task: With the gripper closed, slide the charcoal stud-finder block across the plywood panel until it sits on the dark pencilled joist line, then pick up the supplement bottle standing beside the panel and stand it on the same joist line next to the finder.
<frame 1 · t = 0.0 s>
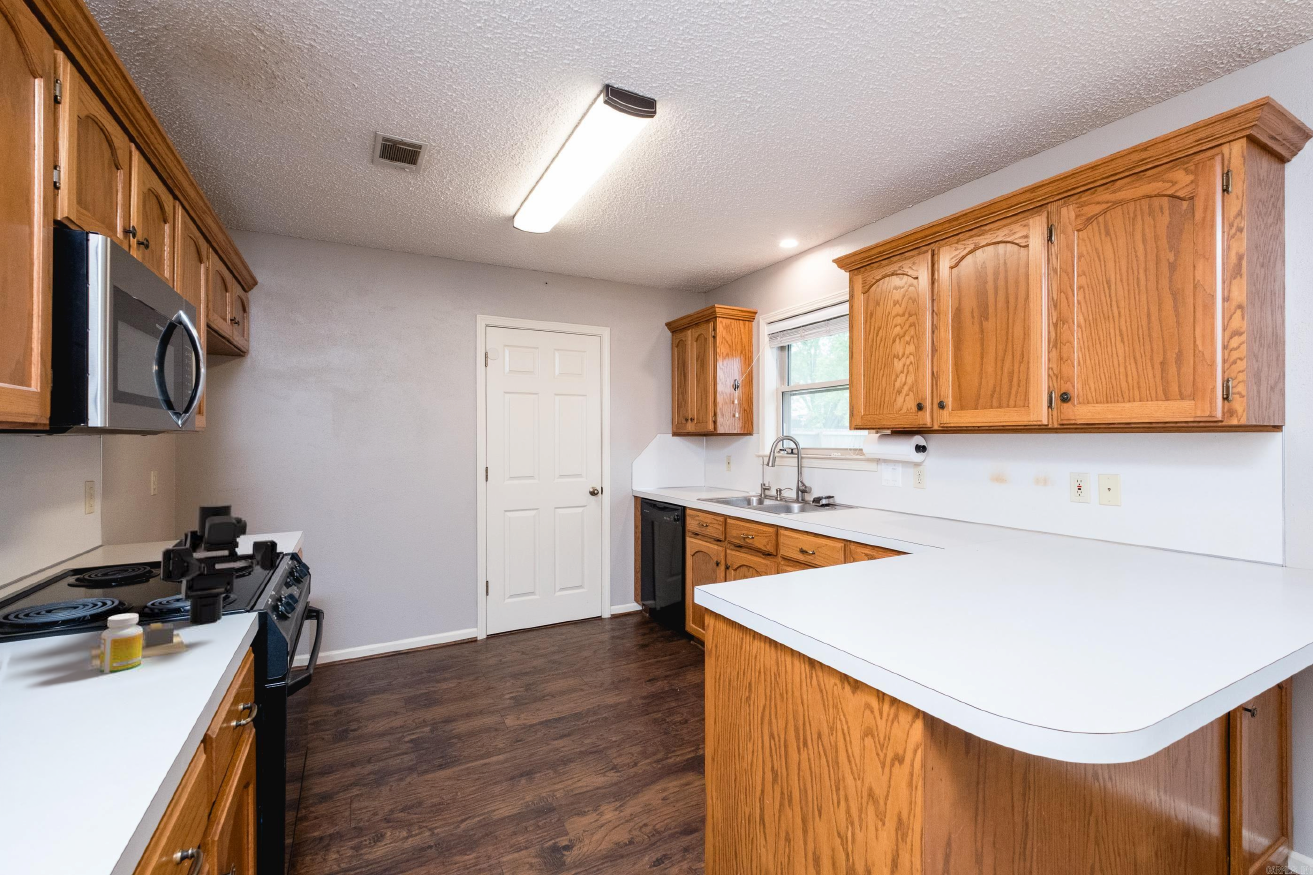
hand: (229, 565, 113), 17 cm above the counter, tool horizontal, fingers open, 9 cm apart
plywood panel: (139, 652, 112), on the counter
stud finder: (158, 642, 115), point 1 cm above the counter, touching plywood panel
supplement bottle: (120, 672, 103), on the counter
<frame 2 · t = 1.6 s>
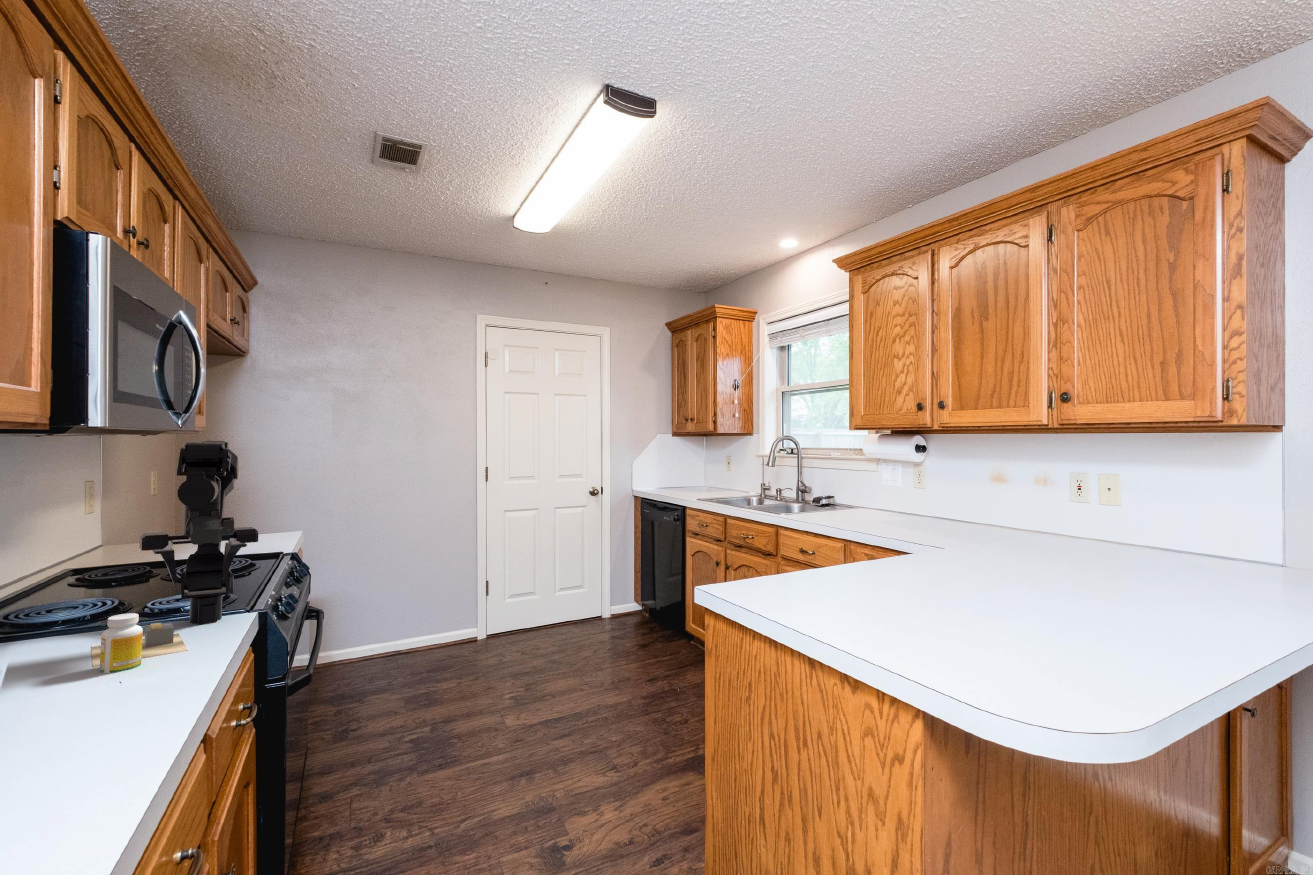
hand: (199, 580, 120), 12 cm above the counter, tool pointing down, fingers open, 8 cm apart
nothing on the counter moved.
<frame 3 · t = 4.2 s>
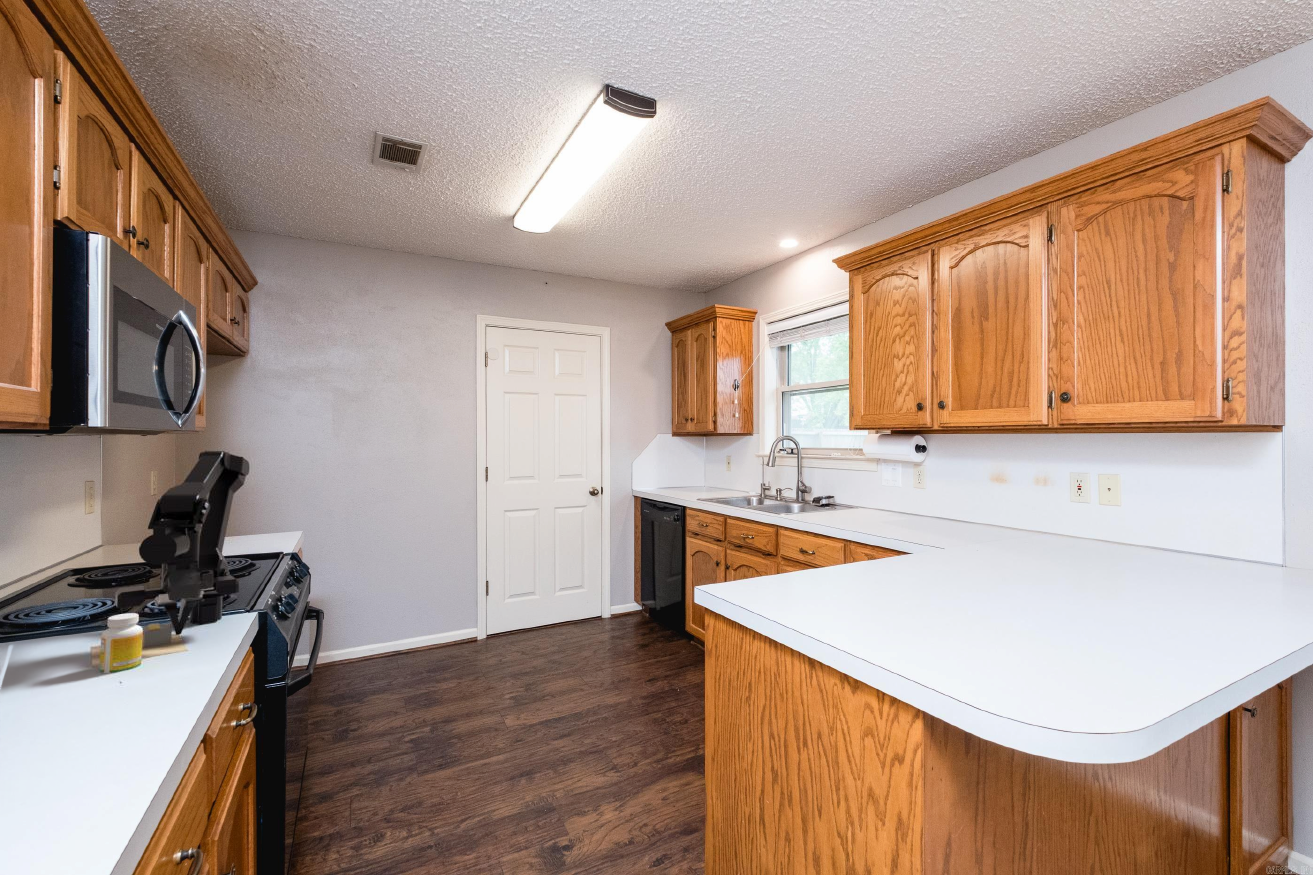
hand: (178, 634, 117), 2 cm above the counter, tool pointing down, fingers closed
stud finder: (156, 642, 115), point 1 cm above the counter, touching gripper, plywood panel
everything else where it was.
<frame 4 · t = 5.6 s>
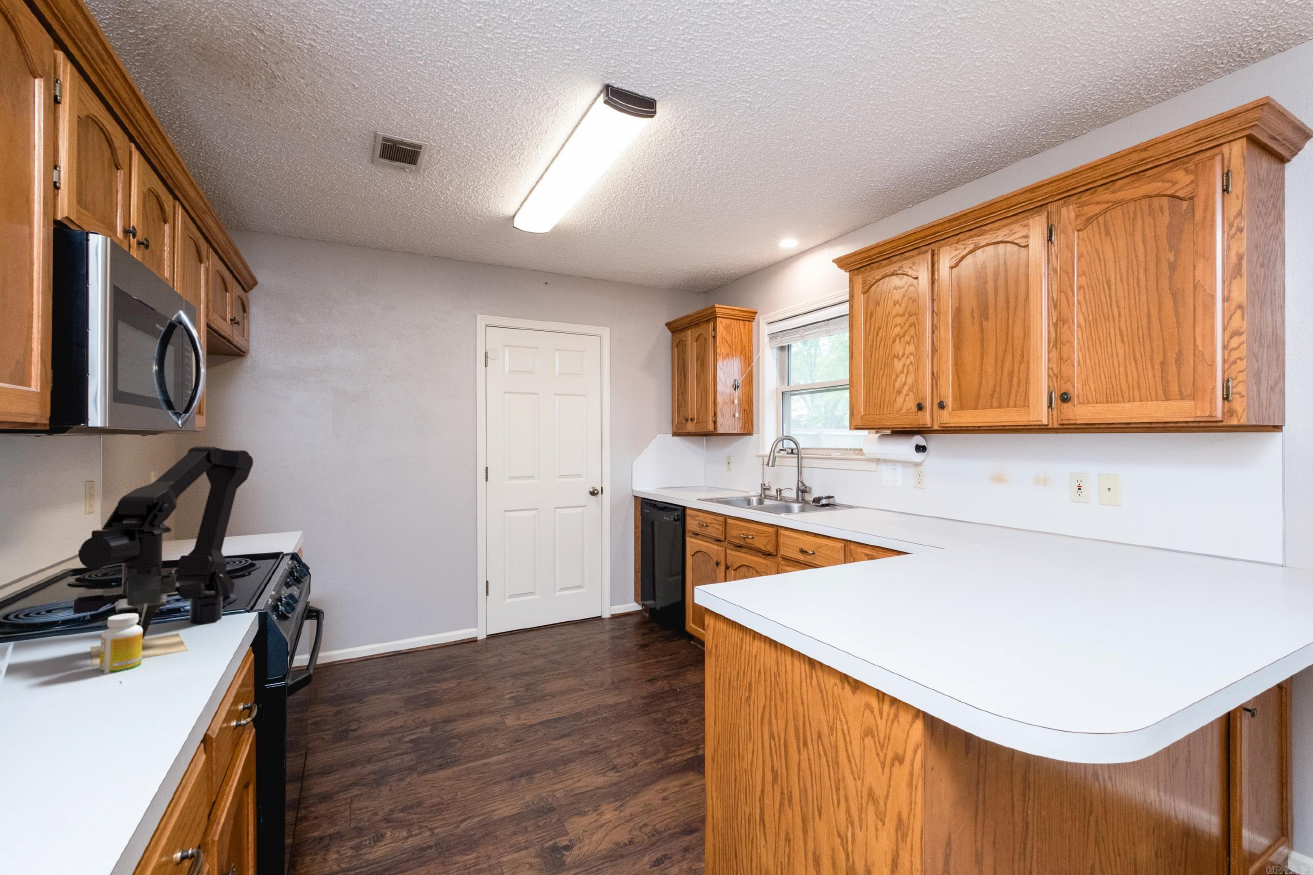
hand: (140, 640, 113), 2 cm above the counter, tool pointing down, fingers closed
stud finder: (117, 649, 111), point 1 cm above the counter, touching gripper, plywood panel
everything else where it was.
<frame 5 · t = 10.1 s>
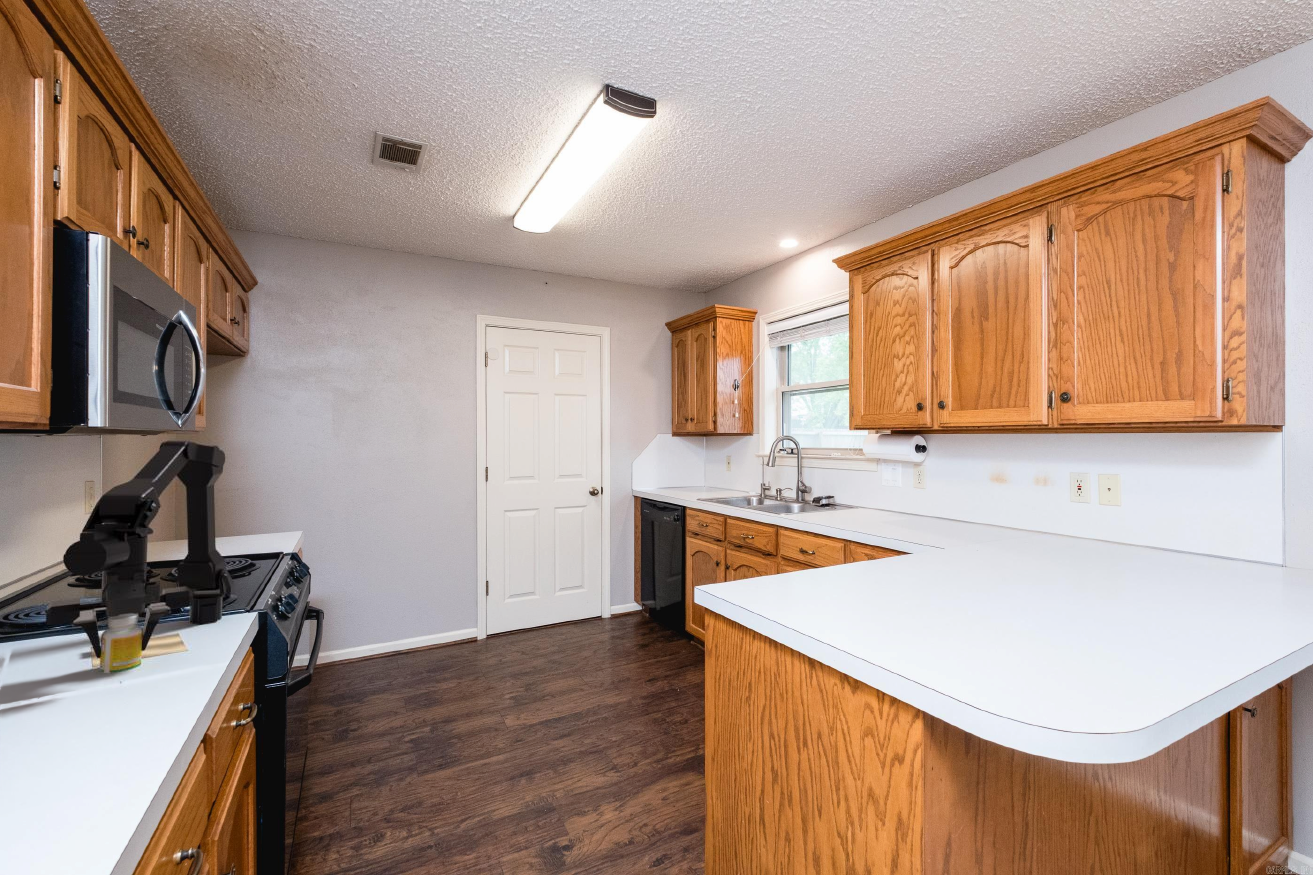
hand: (121, 653, 103), 3 cm above the counter, tool pointing down, fingers closed on supplement bottle, 5 cm apart
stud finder: (117, 649, 111), point 1 cm above the counter, touching plywood panel
supplement bottle: (120, 672, 103), on the counter, touching gripper
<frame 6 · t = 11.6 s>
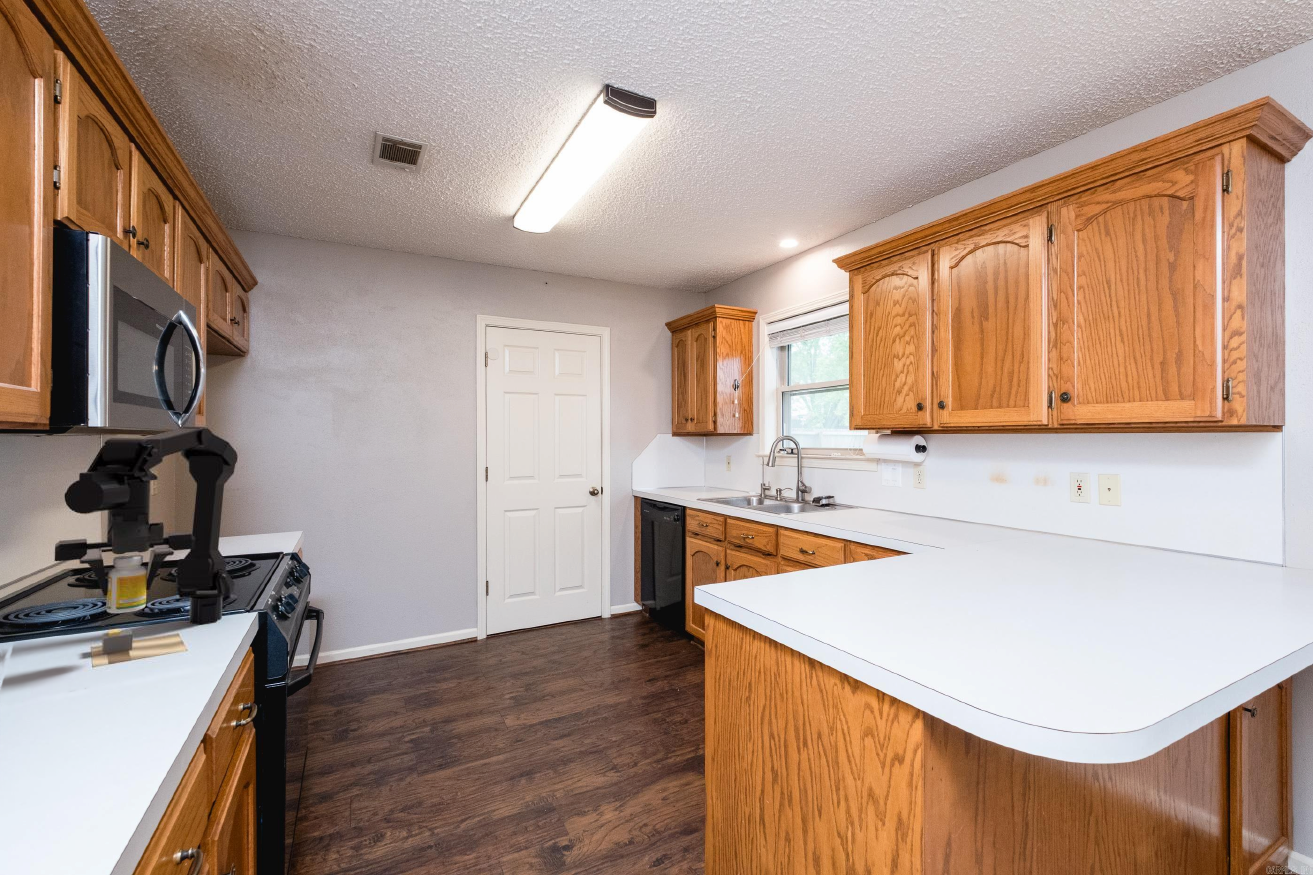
hand: (126, 592, 107), 13 cm above the counter, tool pointing down, fingers closed on supplement bottle, 5 cm apart
supplement bottle: (126, 610, 107), point 9 cm above the counter, touching gripper
everything else where it was.
when the fingers open (5 cm above the counter, at t = 13.5 s): supplement bottle drops 1 cm, resting on plywood panel.
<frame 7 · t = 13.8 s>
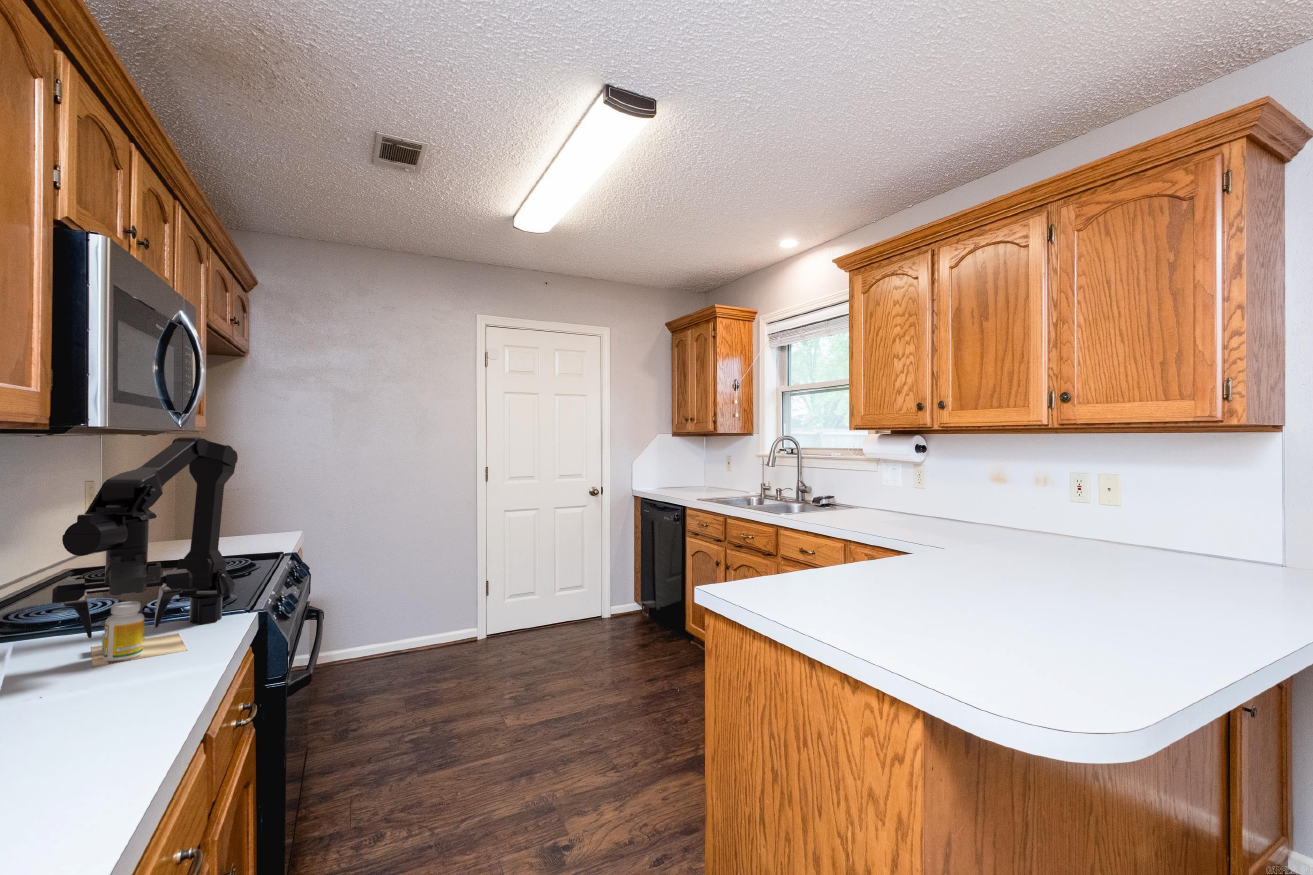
hand: (123, 632, 107), 5 cm above the counter, tool pointing down, fingers open, 9 cm apart
supplement bottle: (123, 657, 107), point 1 cm above the counter, touching plywood panel
everything else where it was.
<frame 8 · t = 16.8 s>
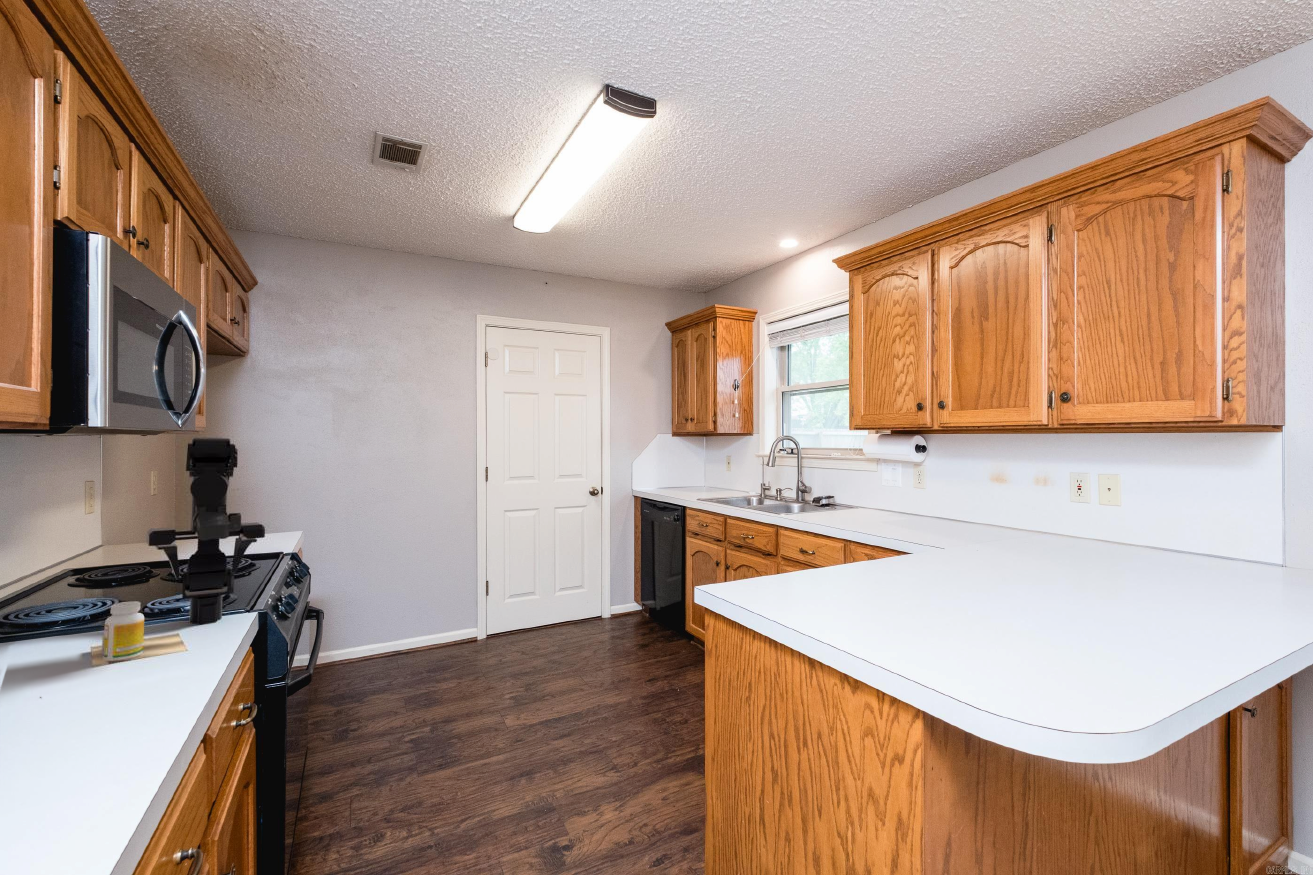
hand: (206, 576, 120), 13 cm above the counter, tool pointing down, fingers open, 9 cm apart
nothing on the counter moved.
at the end: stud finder 0.3 cm from the target spot, point 0.8 cm above the counter; supplement bottle inside the target area (0.5 cm from its centre), point 0.6 cm above the counter; supplement bottle tilted 0° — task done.
